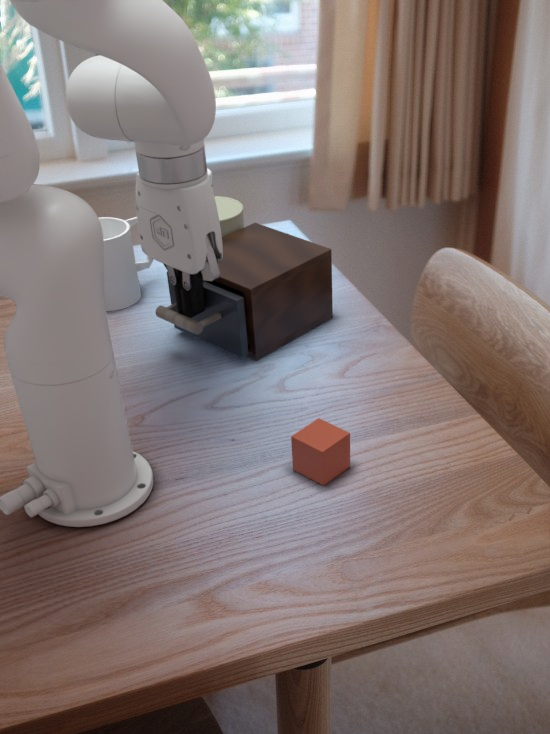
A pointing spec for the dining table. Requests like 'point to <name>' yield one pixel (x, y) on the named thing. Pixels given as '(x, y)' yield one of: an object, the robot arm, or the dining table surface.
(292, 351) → the dining table surface
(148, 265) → the cup
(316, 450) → the block
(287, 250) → the cabinet
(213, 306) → the drawer
